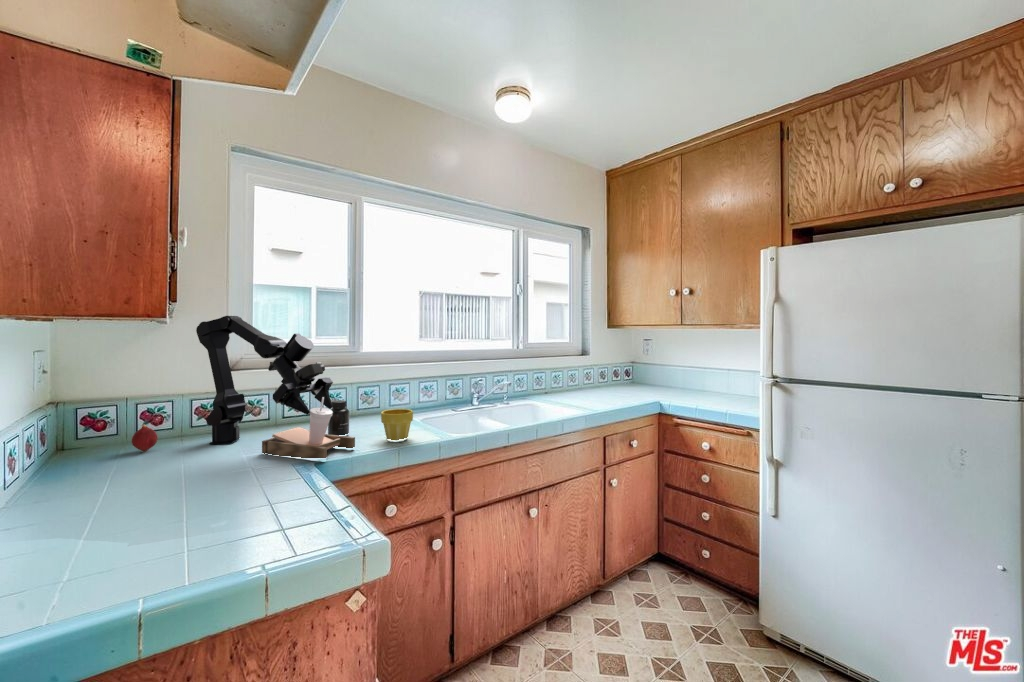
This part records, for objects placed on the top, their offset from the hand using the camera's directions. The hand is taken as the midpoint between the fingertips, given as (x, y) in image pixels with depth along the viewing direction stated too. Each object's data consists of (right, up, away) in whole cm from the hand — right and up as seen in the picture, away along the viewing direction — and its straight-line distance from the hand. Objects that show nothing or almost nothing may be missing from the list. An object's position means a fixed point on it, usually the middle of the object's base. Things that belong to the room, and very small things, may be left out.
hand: (320, 410), depth 126 cm
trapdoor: (-6, -12, +2) cm, 14 cm away
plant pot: (+18, -13, +17) cm, 28 cm away
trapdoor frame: (-4, -13, +2) cm, 13 cm away
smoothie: (-2, -10, +1) cm, 10 cm away
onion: (-52, -12, 0) cm, 53 cm away
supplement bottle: (-3, -12, +22) cm, 25 cm away
